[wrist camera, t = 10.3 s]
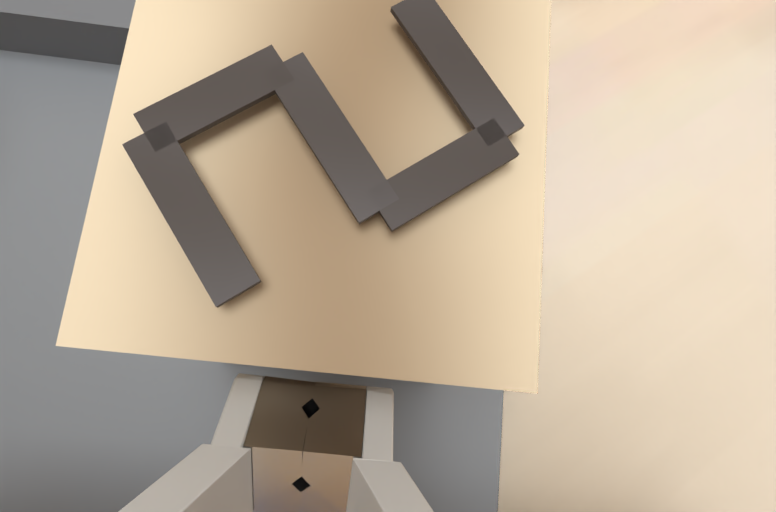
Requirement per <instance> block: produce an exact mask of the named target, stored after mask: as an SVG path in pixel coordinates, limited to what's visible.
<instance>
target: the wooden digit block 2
mask: <svg viewBox="0 0 776 512" xmlns="http://www.w3.org/2000/svg"><path fill="white" fill-rule="evenodd" d="M550 22H551V0H136V2H135V6H134V10H133V14H132V19H131V23H130V27H129V32H128V36H127V40H126V45H125V49H124V53H123V57H122V62H121V66H120V70H119V75H118V79H117V83H116V88H115V92H114V96H113V101H112V105H111V109H110V113H109V118H108V122H107V126H106V131H105V135H104V139H103V144H102V148H101V152H100V156H99V161H98V165H97V169H96V174H95V178H94V182H93V187H92V191H91V195H90V200H89V204H88V208H87V212H86V217H85V221H84V225H83V230H82V234H81V238H80V243H79V247H78V251H77V255H76V260H75V264H74V268H73V273H72V277H71V281H70V286H69V290H68V294H67V298H66V303H65V307H64V311H63V316H62V320H61V324H60V329H59V333H58V337H57V342H56V346H62V347H72V348H82V349H92V350H102V351H112V352H122V353H132V354H142V355H152V356H162V357H172V358H183V359H193V360H203V361H213V362H223V363H233V364H243V365H253V366H263V367H273V368H283V369H293V370H303V371H314V372H324V373H334V374H344V375H354V376H364V377H374V378H384V379H394V380H404V381H414V382H424V383H434V384H445V385H455V386H465V387H475V388H485V389H495V390H505V391H515V392H525V393H535V394H538V370H539V341H540V312H541V283H542V254H543V225H544V196H545V167H546V138H547V109H548V80H549V51H550Z"/></svg>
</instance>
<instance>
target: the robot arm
mask: <svg viewBox="0 0 776 512" xmlns="http://www.w3.org/2000/svg"><path fill="white" fill-rule="evenodd" d="M393 409H394V392H393V390H392V389H391V388H380V387H369V386H367V388H366V386H360V385H349V384H337V383H326V382H310V381H302V380H294V379H286V378H278V377H270V376H259V375H250V374H242V373H239V374H238V375H237V376H236V378H235V379H234V381H233V384H232V387H231V390H230V392H229V395H228V398H227V401H226V403H225V406H224V409H223V411H222V414H221V417H220V420H219V422H218V425H217V428H216V431H215V433H214V436H213V439H212V442H211V444H201V445H200V446H199V447H198V448H197V449H195V450H194V451H193V452H192V453H190V454H189V455H188V456H187V457H185V458H184V459H183V460H182V461H180V462H179V463H178V464H177V465H175V466H174V467H173V468H172V469H171V470H169V471H168V472H167V473H166V474H164V475H163V476H162V477H161V478H159V479H158V480H157V481H156V482H154V483H153V484H152V485H151V486H149V487H148V488H147V489H146V490H144V491H143V492H142V493H141V494H140V495H138V496H137V497H136V498H135V499H133V500H132V501H131V502H130V503H128V504H127V505H126V506H125V507H123V508H122V509H121V510H120V511H118V512H253V511H256V512H434V511H433V510H432V508H431V507H430V505H429V504H428V502H427V501H426V499H425V498H424V496H423V495H422V493H421V492H420V490H419V489H418V487H417V486H416V484H415V483H414V481H413V480H412V478H411V477H410V475H409V474H408V472H407V471H406V469H405V468H404V466H403V465H402V463H401V462H395V461H393Z"/></svg>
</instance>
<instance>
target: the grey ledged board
mask: <svg viewBox="0 0 776 512" xmlns="http://www.w3.org/2000/svg"><path fill="white" fill-rule="evenodd" d="M135 2H136V0H0V512H118V511H120V510H121V509H122V508H123V507H125V506H126V505H127V504H128V503H130V502H131V501H132V500H133V499H135V498H136V497H137V496H138V495H140V494H141V493H142V492H143V491H144V490H146V489H147V488H148V487H149V486H151V485H152V484H153V483H154V482H156V481H157V480H158V479H159V478H161V477H162V476H163V475H164V474H166V473H167V472H168V471H169V470H171V469H172V468H173V467H174V466H175V465H177V464H178V463H179V462H180V461H182V460H183V459H184V458H185V457H187V456H188V455H189V454H190V453H192V452H193V451H194V450H195V449H197V448H198V447H199V446H200V445H201V444H211V442H212V439H213V436H214V433H215V431H216V428H217V425H218V422H219V420H220V417H221V414H222V411H223V409H224V406H225V403H226V401H227V398H228V395H229V392H230V390H231V387H232V384H233V381H234V379H235V378H236V376H237V375H238V374H239V373H242V374H250V375H259V376H270V377H278V378H286V379H294V380H302V381H310V382H326V383H337V384H349V385H360V386H366V388H367V386H369V387H380V388H391V389H392V390H393V392H394V409H393V461H395V462H401V463H402V465H403V466H404V468H405V469H406V471H407V472H408V474H409V475H410V477H411V478H412V480H413V481H414V483H415V484H416V486H417V487H418V489H419V490H420V492H421V493H422V495H423V496H424V498H425V499H426V501H427V502H428V504H429V505H430V507H431V508H432V510H433V511H434V512H498V492H499V472H500V451H501V430H502V409H503V390H495V389H485V388H475V387H465V386H455V385H445V384H434V383H424V382H414V381H404V380H394V379H384V378H374V377H364V376H354V375H344V374H334V373H324V372H314V371H303V370H293V369H283V368H273V367H263V366H253V365H243V364H233V363H223V362H213V361H203V360H193V359H183V358H172V357H162V356H152V355H142V354H132V353H122V352H112V351H102V350H92V349H82V348H72V347H62V346H56V342H57V337H58V333H59V329H60V324H61V320H62V316H63V311H64V307H65V303H66V298H67V294H68V290H69V286H70V281H71V277H72V273H73V268H74V264H75V260H76V255H77V251H78V247H79V243H80V238H81V234H82V230H83V225H84V221H85V217H86V212H87V208H88V204H89V200H90V195H91V191H92V187H93V182H94V178H95V174H96V169H97V165H98V161H99V156H100V152H101V148H102V144H103V139H104V135H105V131H106V126H107V122H108V118H109V113H110V109H111V105H112V101H113V96H114V92H115V88H116V83H117V79H118V75H119V70H120V66H121V62H122V57H123V53H124V49H125V45H126V40H127V36H128V32H129V27H130V23H131V19H132V14H133V10H134V6H135ZM253 512H256V511H253Z"/></svg>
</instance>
